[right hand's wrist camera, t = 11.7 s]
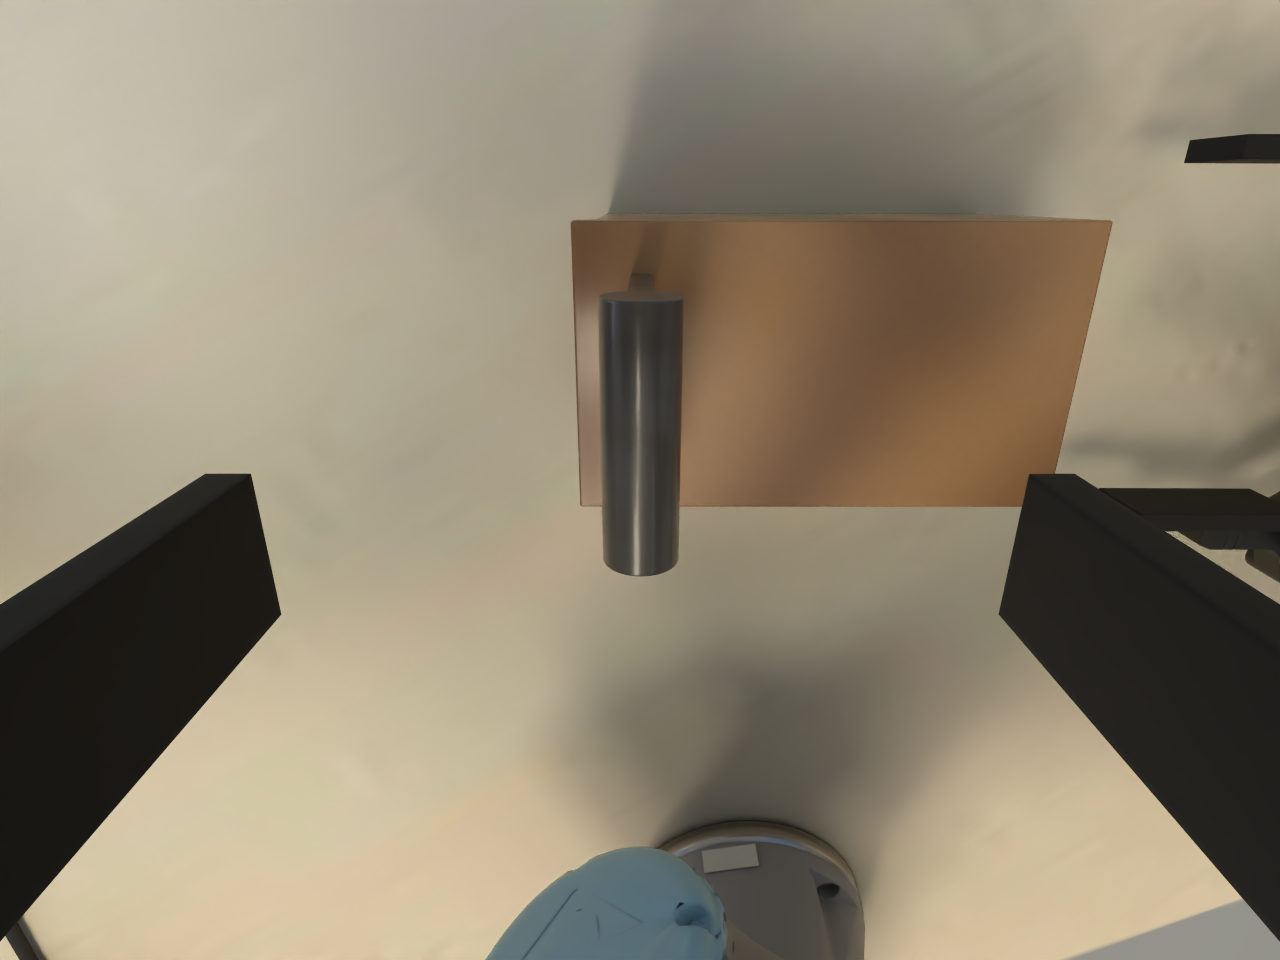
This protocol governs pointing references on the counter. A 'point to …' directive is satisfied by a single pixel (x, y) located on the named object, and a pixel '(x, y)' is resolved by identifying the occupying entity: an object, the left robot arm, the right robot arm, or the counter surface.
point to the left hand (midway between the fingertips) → (1159, 345)
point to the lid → (820, 364)
